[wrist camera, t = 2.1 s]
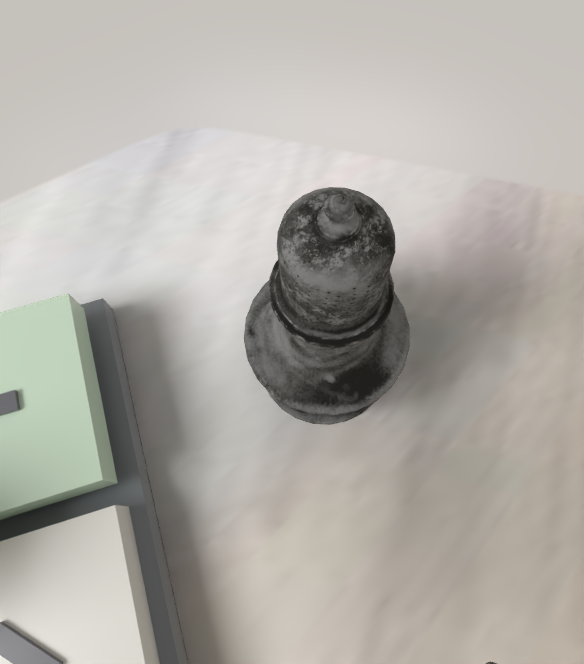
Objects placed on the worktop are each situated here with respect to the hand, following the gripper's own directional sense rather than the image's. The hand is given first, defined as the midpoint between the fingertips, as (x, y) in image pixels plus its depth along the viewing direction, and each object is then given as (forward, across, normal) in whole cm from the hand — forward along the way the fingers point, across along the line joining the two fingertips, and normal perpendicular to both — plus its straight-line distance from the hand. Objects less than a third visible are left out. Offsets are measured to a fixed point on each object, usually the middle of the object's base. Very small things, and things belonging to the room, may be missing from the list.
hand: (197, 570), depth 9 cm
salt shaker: (+14, 0, +4) cm, 15 cm away
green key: (+10, +10, +8) cm, 16 cm away
